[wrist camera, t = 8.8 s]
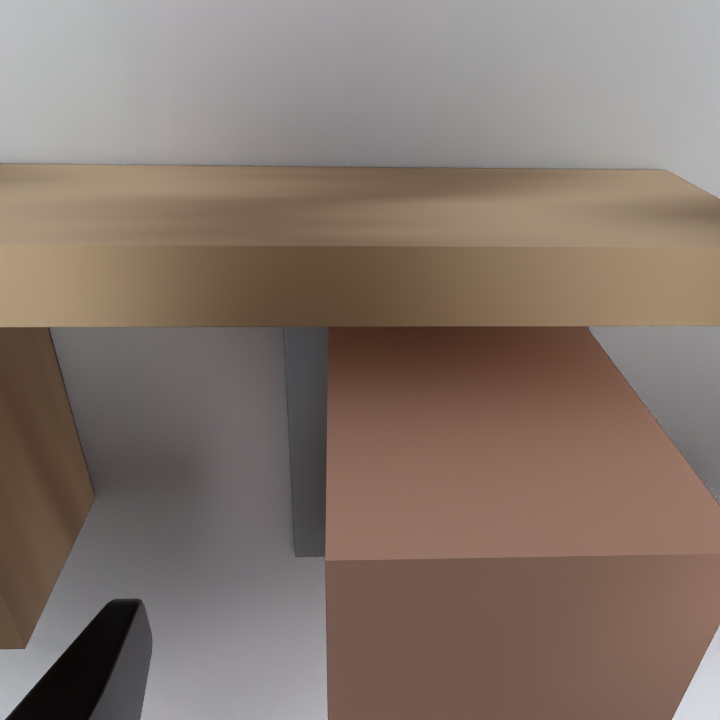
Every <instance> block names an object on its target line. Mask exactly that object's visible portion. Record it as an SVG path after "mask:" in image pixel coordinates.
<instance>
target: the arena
mask: <svg viewBox="0 0 720 720" xmlns="http://www.w3.org/2000/svg"><path fill="white" fill-rule="evenodd" d="M402 326H586V327H587V328H588V330H589V326H720V199H719V198H717V197H715V196H713V195H711V194H710V193H708V192H706V191H704V190H702V189H700V188H699V187H697V186H695V185H693V184H691V183H689V182H688V181H686V180H684V179H682V178H680V177H678V176H677V175H675V174H673V173H671V172H669V171H667V170H627V169H519V168H411V167H303V166H195V165H87V164H0V649H25V648H26V645H27V643H28V641H29V639H30V637H31V635H32V633H33V630H34V628H35V626H36V624H37V622H38V620H39V618H40V615H41V613H42V611H43V609H44V607H45V605H46V603H47V600H48V598H49V596H50V594H51V592H52V590H53V587H54V585H55V583H56V581H57V579H58V577H59V575H60V572H61V570H62V568H63V566H64V564H65V562H66V560H67V557H68V555H69V553H70V551H71V549H72V547H73V545H74V542H75V540H76V538H77V536H78V534H79V532H80V530H81V527H82V525H83V523H84V521H85V519H86V517H87V514H88V512H89V510H90V508H91V506H92V504H93V502H94V499H95V496H94V493H93V489H92V486H91V482H90V478H89V475H88V471H87V467H86V464H85V460H84V457H83V453H82V449H81V446H80V442H79V438H78V435H77V431H76V427H75V424H74V420H73V417H72V413H71V409H70V406H69V402H68V398H67V395H66V391H65V388H64V384H63V380H62V377H61V373H60V369H59V366H58V362H57V359H56V355H55V351H54V348H53V344H52V340H51V337H50V333H49V329H48V327H283V333H284V352H285V371H286V390H287V409H288V429H289V448H290V467H291V486H292V505H293V525H294V544H295V557H318V556H325V545H326V468H327V390H328V327H402Z"/></svg>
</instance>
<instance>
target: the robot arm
mask: <svg viewBox="0 0 720 720" xmlns="http://www.w3.org/2000/svg"><path fill="white" fill-rule="evenodd" d="M151 653H152V633H151V629H150V625H149V621H148V617H147V613H146V610H145V606H144V603H143V602H142V600H140V599H114V600H112V601H110V602H109V603H107V604H106V605H105V607H104V608H103V609H102V610H101V611H100V612H99V613H98V614H97V616H96V617H95V618H94V619H93V620H92V621H91V622H90V624H89V625H88V626H87V627H86V628H85V629H84V630H83V632H82V633H81V634H80V635H79V636H78V637H77V638H76V640H75V641H74V642H73V643H72V644H71V645H70V646H69V647H68V649H67V650H66V651H65V652H64V653H63V654H62V655H61V657H60V658H59V659H58V660H57V661H56V662H55V663H54V665H53V666H52V667H51V668H50V669H49V670H48V671H47V673H46V674H45V675H44V676H43V677H42V678H41V679H40V680H39V682H38V683H37V684H36V685H35V686H34V687H33V688H32V690H31V691H30V692H29V693H28V694H27V695H26V696H25V698H24V699H23V700H22V701H21V702H20V703H19V704H18V706H17V707H16V708H15V709H14V710H13V711H12V712H11V713H10V715H9V716H8V717H7V718H6V719H5V720H140V718H141V712H142V706H143V700H144V694H145V689H146V683H147V677H148V671H149V665H150V659H151Z"/></svg>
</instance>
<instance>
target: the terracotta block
mask: <svg viewBox="0 0 720 720" xmlns="http://www.w3.org/2000/svg"><path fill="white" fill-rule="evenodd" d="M325 573H326V635H327V698H328V720H672V718H673V716H674V714H675V712H676V710H677V708H678V706H679V704H680V702H681V700H682V698H683V696H684V694H685V692H686V690H687V688H688V686H689V684H690V682H691V680H692V678H693V676H694V674H695V672H696V670H697V668H698V666H699V664H700V662H701V660H702V658H703V656H704V654H705V652H706V650H707V648H708V646H709V644H710V642H711V640H712V638H713V637H714V635H715V633H716V631H717V629H718V627H719V625H720V505H719V504H718V502H717V501H716V500H715V498H714V497H713V496H712V494H711V493H710V492H709V490H708V489H707V488H706V486H705V485H704V484H703V482H702V481H701V480H700V478H699V477H698V475H697V474H696V473H695V471H694V470H693V469H692V467H691V466H690V465H689V463H688V462H687V461H686V459H685V458H684V457H683V455H682V454H681V453H680V451H679V450H678V449H677V447H676V446H675V445H674V443H673V442H672V441H671V439H670V438H669V437H668V435H667V434H666V433H665V431H664V430H663V429H662V427H661V426H660V425H659V423H658V422H657V421H656V419H655V418H654V417H653V415H652V414H651V413H650V411H649V410H648V409H647V407H646V406H645V405H644V403H643V402H642V401H641V399H640V398H639V397H638V395H637V394H636V393H635V391H634V390H633V389H632V387H631V386H630V385H629V383H628V382H627V381H626V379H625V378H624V377H623V375H622V374H621V373H620V371H619V370H618V369H617V367H616V366H615V365H614V363H613V362H612V361H611V359H610V358H609V357H608V355H607V354H606V353H605V351H604V350H603V349H602V347H601V346H600V345H599V343H598V342H597V341H596V339H595V338H594V337H593V335H592V334H591V332H590V331H589V330H588V328H587V327H586V326H402V327H328V390H327V468H326V545H325Z"/></svg>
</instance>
